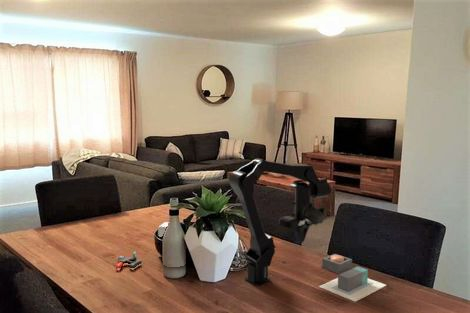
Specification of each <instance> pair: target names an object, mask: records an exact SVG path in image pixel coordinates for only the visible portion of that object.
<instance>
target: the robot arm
mask: <svg viewBox="0 0 470 313" xmlns="http://www.w3.org/2000/svg"><path fill="white" fill-rule="evenodd" d="M265 172H266V173H272V174H278V175H285V176H289V177H290V178H293V179H296V180H294V181H293V182H292V183H291V184H290V185H289V188H293V189H294V190H295V191H294V192H295V193H294V201H292V202H291V203H292V205H294V212H291V215H292V216H290V215H286V216H281V217H280V218H279V219H278V226H281V227H284V228H287V229H294V231H295V233H296V235H297V238H298V241H299V242H300V243H303V242H305V238H306V237H307V234H308V232H309V229H310V227H312V226H313V225H315V226H317V225H318V224H323V222H324V220H325V219H326V218H327V214H328V212H327V208H325V207H320V208H316V207H315V203H314V202H313V201H312V198H313V199H317V198H319V199H320V198H326V197H329V196H330V195H331V192H332V188H331V185H330V184H329V182H328V178H325V177H322V178H319V177H318V175H317V174H316V170H315V168H314V166H312V165H308V164H304V163H300V162H299V163H289V164H287V163H281V162H276V161H271V160H265V159H263V158H262V159H261V158H254V159H253V160H252V161H250V162H249V163H247V164H245V165H244V166H241V167H240V168H239V169H237V170H235V171H233V172H231V173H230V175H229V177H228V183H229V185H230V187H231V189H232V190H233V192H234V194H235V195H236V197H238V199H239V202H240V206H241V208H242V211H243V213H244V218H245V220H246V223H247V227H248V230H249V233H250V240H249V245H250V247H249V248H248V250H247V251H246V252H245V254H244V259H245V260H246V261H247V262H248V263H247V277H245V278H244V281H246V282H249V283H251V284H252V285H256V286H260V285H263V284H265V283H268V282H270V281H271V278H269V277H268V276H269V274H268V273H269V271H268V270H269V268H268V267H270V266H271V263H272V260H273V257H274V255H275V254H276V250H275V248H276V246H275V244H274V237H273V236H271V235H270V234H267V233H265V229H264V226H263V224H262V220H261V217H260V213H259V211H258V207H257V204H256V200H255V198H254V194H255V189H256V188H255V184H256V183H257V182H258V181H260V178H261V177H262V176H263V174H264V173H265ZM299 180H300V182H299Z"/></svg>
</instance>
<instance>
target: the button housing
mask: <svg viewBox="0 0 470 313" xmlns="http://www.w3.org/2000/svg"><path fill="white" fill-rule="evenodd" d="M333 255H339V254H337V253H333V254H331V255H328V256H325V257H323V258H322V262H321V263H322V265H321V267H320V268H321V269H324V270H327V271H330V272H333V273H335V274H337V275H339V274H341V273H344V272H346V271H348V270H351V269H353V268H354V267H353V266H352V265H353V259H352V258H349V257H346V256H343V257H344V261H343V262H340V263H338V262H335V261H332V260H331V256H333ZM339 256H341V254H340V255H339Z"/></svg>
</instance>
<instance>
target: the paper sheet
mask: <svg viewBox="0 0 470 313" xmlns="http://www.w3.org/2000/svg"><path fill="white" fill-rule="evenodd" d="M318 287H319V288H321V289H323V290H326V291H328V292H330V293H333V294H335V295H337V296H340V297H343V298H345V299H347V300H350V301H352V302H354V303H356V302H358V301H359V300H362V299H363V298H365V297H367V296H369V295H371V294H373V293H375V292H377V291H380V290H381V289H383V288H386V287H387V284H385V283H382V282H380V281H376V280H374V279H371V278H368V281H367V283H366V284H364V285H362V286H359V287H357V288H355V289H353V290H351V291H349V292H347V291H344V290H342V289H339V288H338V277H337V278H334V279H332V280H330V281H327V282H326V283H323V284H321V285H318Z"/></svg>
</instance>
